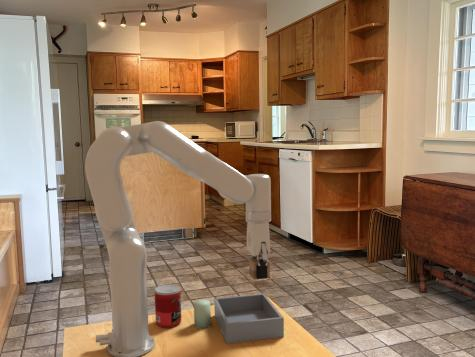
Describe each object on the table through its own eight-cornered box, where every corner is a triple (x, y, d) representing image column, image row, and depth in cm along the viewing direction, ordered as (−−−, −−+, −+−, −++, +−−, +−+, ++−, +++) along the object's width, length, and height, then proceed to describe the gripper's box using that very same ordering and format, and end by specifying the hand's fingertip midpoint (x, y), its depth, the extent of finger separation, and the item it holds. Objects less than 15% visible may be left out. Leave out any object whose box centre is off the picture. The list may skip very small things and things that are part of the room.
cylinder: (195, 329, 130) (194, 306, 129) (193, 322, 135) (192, 300, 134) (212, 327, 131) (211, 305, 130) (209, 320, 136) (208, 298, 135)
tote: (226, 343, 121) (226, 324, 120) (214, 315, 140) (214, 298, 139) (283, 336, 124) (283, 317, 124) (264, 309, 143) (264, 293, 143)
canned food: (176, 329, 130) (175, 293, 129) (151, 327, 132) (150, 292, 131) (185, 318, 138) (183, 284, 136) (161, 316, 139) (159, 283, 138)
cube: (253, 279, 128) (253, 263, 128) (249, 274, 133) (249, 258, 133) (269, 278, 129) (269, 261, 129) (265, 272, 134) (264, 257, 134)
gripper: (239, 211, 137) (240, 268, 139) (253, 222, 120) (254, 286, 122) (262, 210, 138) (263, 266, 140) (279, 220, 122) (280, 283, 124)
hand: (259, 274), depth 131 cm, fingers closed on cube, 5 cm apart
